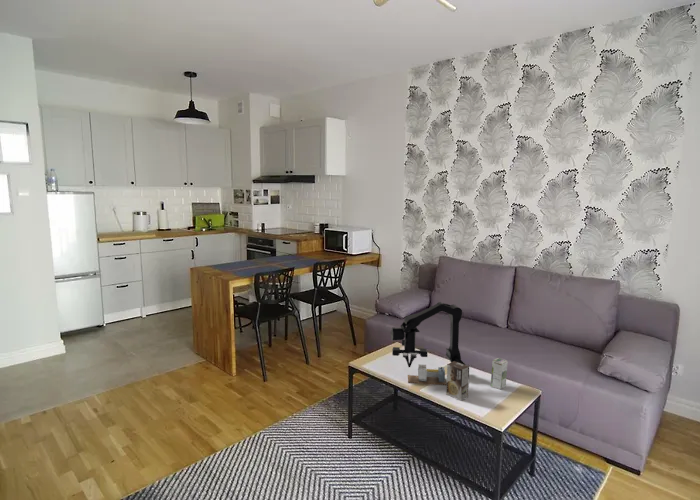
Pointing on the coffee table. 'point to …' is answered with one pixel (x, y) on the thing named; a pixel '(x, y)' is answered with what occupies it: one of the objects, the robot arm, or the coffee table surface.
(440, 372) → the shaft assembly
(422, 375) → the grey slotted block
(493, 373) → the syrup box
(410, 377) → the board
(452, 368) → the coffee box
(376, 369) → the coffee table surface
